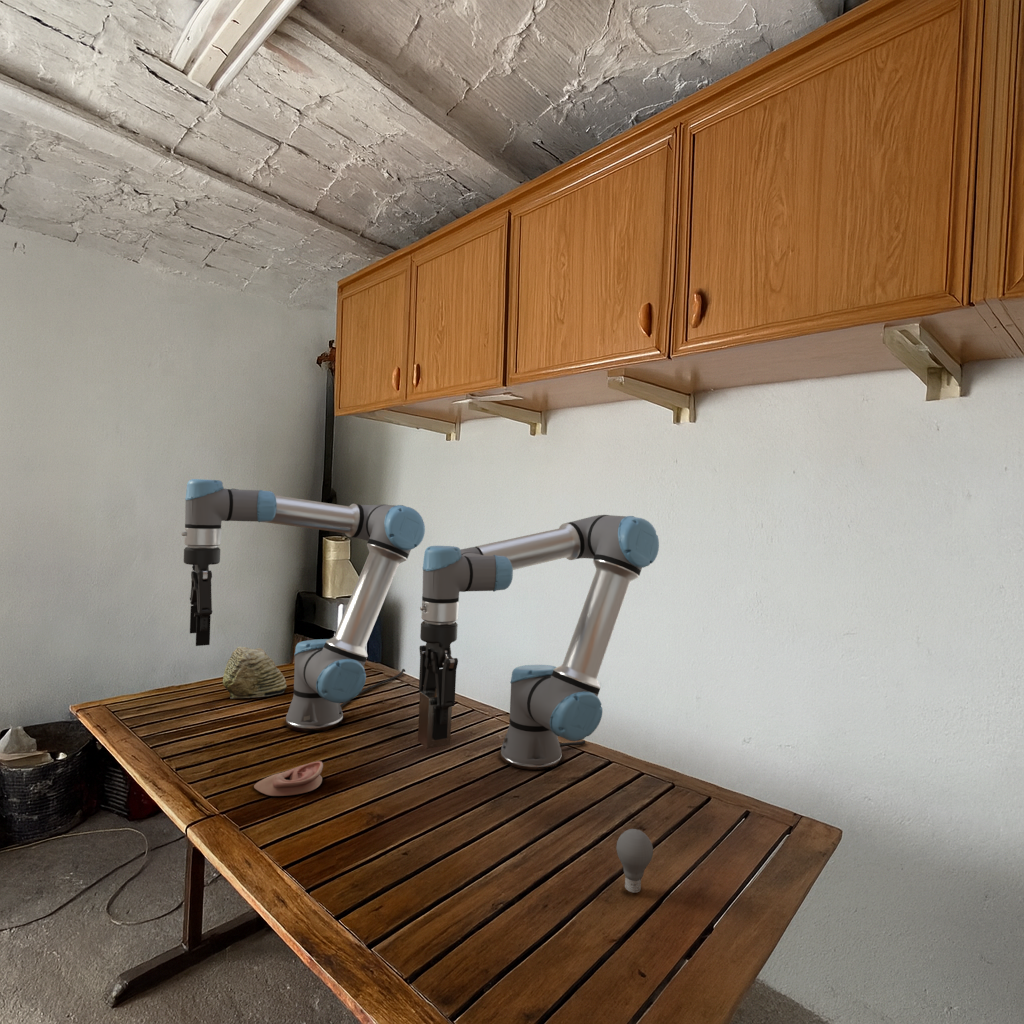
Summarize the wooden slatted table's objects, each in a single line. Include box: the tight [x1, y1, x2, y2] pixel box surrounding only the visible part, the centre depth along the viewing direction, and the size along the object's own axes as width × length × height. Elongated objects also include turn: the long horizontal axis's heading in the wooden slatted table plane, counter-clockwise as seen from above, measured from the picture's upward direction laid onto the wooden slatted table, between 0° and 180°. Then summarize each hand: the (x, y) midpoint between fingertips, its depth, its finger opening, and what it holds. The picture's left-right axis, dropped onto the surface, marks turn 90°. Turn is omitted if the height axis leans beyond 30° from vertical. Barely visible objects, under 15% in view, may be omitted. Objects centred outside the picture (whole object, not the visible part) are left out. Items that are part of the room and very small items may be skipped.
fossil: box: [222, 646, 288, 699], centre depth 198 cm, size 9×18×15 cm, turn 132°
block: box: [417, 690, 453, 750], centre depth 130 cm, size 5×5×10 cm
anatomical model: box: [253, 760, 324, 797], centre depth 138 cm, size 13×4×12 cm
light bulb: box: [615, 828, 654, 894], centre depth 106 cm, size 6×6×10 cm
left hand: (199, 638), depth 145 cm, fingers open, 13 cm apart
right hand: (434, 733), depth 130 cm, fingers closed on block, 5 cm apart
